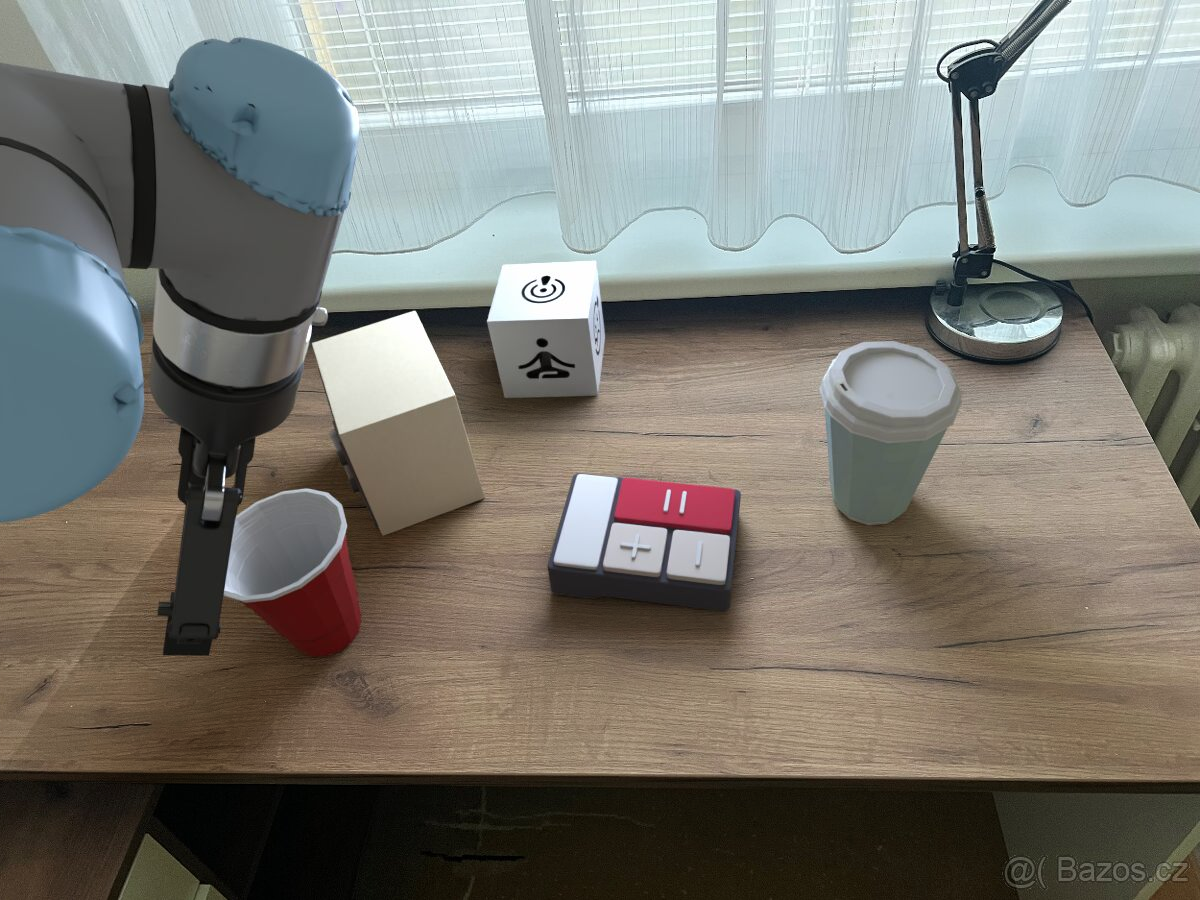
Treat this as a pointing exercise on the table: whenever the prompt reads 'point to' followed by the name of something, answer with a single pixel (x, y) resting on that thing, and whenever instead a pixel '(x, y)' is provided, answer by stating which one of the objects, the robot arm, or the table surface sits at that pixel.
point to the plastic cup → (296, 570)
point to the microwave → (397, 423)
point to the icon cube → (548, 329)
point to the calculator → (646, 542)
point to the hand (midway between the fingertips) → (195, 561)
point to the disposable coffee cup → (884, 425)
